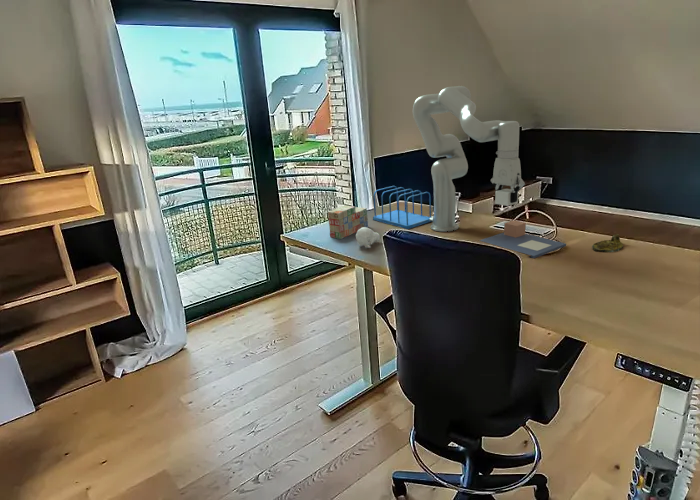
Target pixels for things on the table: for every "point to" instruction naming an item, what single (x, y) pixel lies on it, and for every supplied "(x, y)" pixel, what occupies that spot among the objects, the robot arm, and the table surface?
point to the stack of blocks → (347, 221)
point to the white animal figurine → (366, 237)
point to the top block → (514, 228)
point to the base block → (504, 197)
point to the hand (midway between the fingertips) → (506, 200)
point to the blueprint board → (525, 244)
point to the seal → (608, 245)
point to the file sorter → (399, 216)
